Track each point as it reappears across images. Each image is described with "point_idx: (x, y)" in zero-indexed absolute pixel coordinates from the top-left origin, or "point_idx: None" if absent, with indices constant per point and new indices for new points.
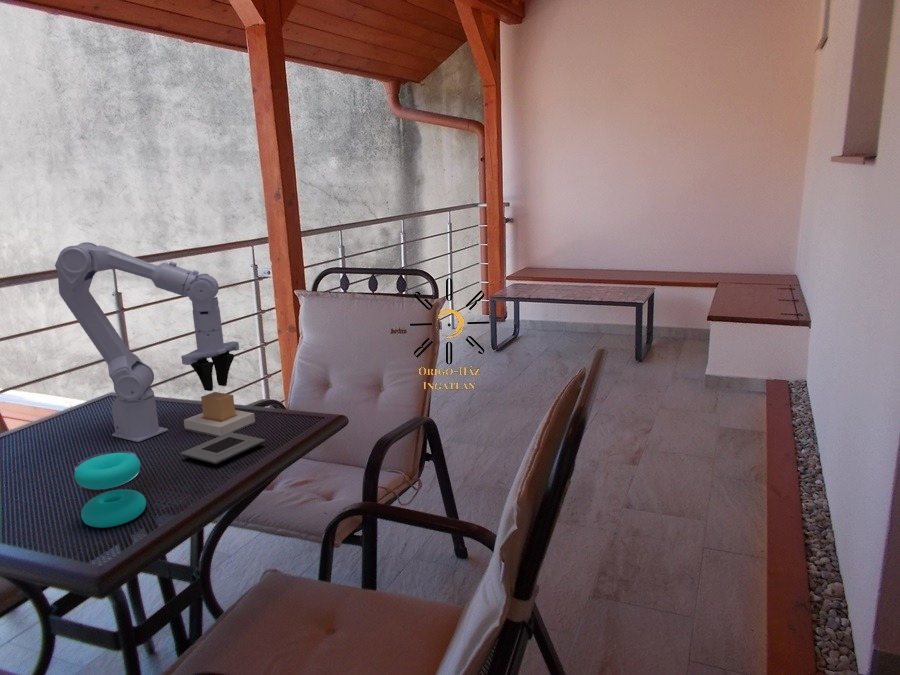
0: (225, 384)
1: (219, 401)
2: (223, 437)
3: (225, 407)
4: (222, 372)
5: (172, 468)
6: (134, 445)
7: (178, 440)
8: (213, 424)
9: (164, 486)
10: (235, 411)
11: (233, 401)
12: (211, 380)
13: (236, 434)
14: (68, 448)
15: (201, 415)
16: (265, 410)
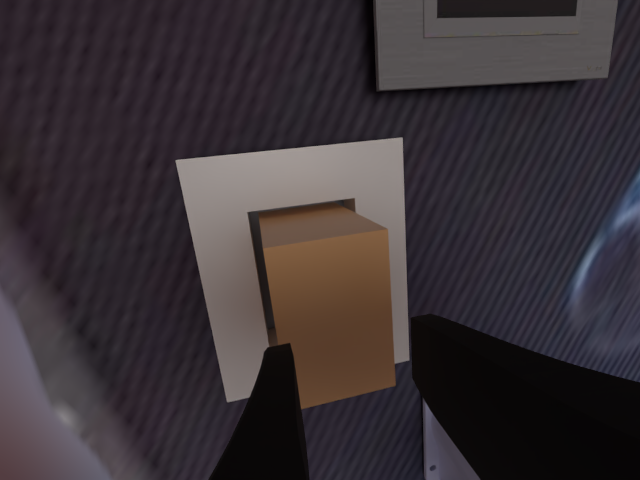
0: (281, 349)
1: (384, 227)
2: (440, 55)
3: (329, 222)
4: (304, 465)
5: (629, 48)
6: (536, 337)
7: (461, 265)
8: (391, 202)
9: None
10: (220, 274)
11: (265, 235)
12: (487, 349)
13: (387, 30)
14: None
15: None
16: (32, 280)
